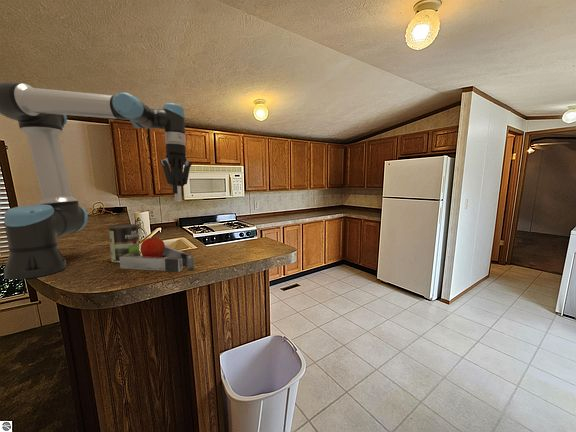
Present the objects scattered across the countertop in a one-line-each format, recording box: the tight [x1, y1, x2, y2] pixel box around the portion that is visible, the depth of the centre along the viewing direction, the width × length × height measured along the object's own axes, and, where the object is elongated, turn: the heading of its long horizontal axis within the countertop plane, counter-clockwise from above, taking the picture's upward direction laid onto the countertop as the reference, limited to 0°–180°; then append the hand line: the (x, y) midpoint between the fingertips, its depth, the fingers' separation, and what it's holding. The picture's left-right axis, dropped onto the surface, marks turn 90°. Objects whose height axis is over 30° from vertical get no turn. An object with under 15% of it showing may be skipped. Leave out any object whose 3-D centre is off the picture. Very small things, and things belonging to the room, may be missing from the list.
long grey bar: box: [119, 254, 195, 273], centre depth 89 cm, size 27×5×5 cm, turn 84°
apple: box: [139, 237, 165, 257], centre depth 94 cm, size 9×8×11 cm
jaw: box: [161, 245, 192, 267], centre depth 98 cm, size 23×4×4 cm, turn 51°
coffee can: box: [107, 223, 141, 264], centre depth 99 cm, size 10×10×14 cm
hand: (178, 201), depth 101 cm, fingers closed
